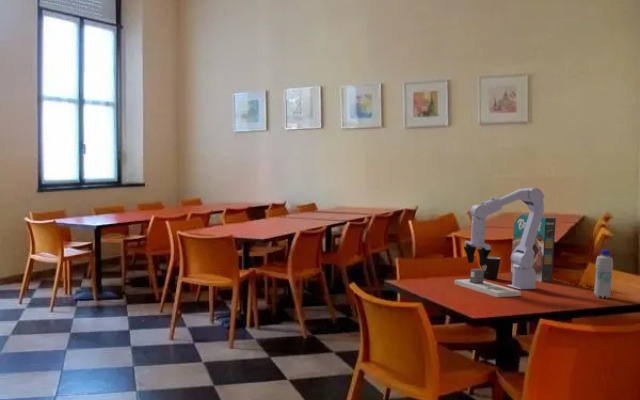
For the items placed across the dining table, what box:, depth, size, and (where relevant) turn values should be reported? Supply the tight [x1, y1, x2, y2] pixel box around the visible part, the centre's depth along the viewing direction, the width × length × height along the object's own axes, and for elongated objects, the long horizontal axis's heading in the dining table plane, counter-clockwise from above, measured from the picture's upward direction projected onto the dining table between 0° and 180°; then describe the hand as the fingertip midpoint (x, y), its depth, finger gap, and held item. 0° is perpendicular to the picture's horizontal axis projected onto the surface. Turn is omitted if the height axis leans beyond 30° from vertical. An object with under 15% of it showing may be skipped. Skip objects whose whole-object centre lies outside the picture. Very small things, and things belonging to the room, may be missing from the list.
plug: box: [469, 268, 484, 284], centre depth 268 cm, size 4×4×8 cm
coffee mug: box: [480, 255, 502, 281], centre depth 292 cm, size 12×9×10 cm
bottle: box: [593, 249, 614, 299], centre depth 256 cm, size 7×7×20 cm
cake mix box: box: [510, 213, 557, 283], centre depth 298 cm, size 22×6×30 cm, turn 22°
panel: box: [454, 278, 522, 298], centre depth 262 cm, size 12×28×2 cm, turn 25°
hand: (476, 264), depth 265 cm, fingers open, 7 cm apart
